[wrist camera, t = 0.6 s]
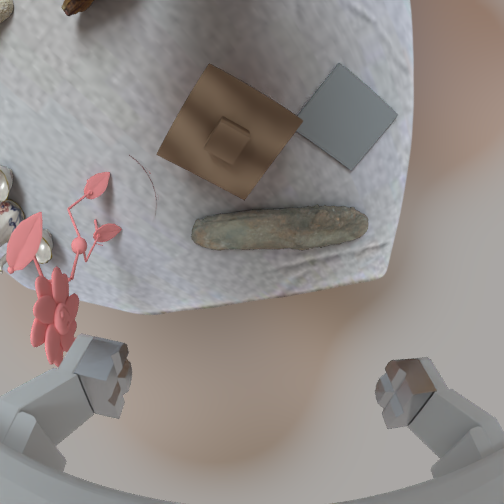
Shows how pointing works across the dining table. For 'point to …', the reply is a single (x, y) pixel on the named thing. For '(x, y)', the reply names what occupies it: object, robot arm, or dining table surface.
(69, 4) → the wooden carving
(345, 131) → the grey mat
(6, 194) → the chinaware
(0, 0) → the fossil tooth
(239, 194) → the walnut lid
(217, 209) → the dining table surface
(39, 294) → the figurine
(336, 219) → the long grey stone
